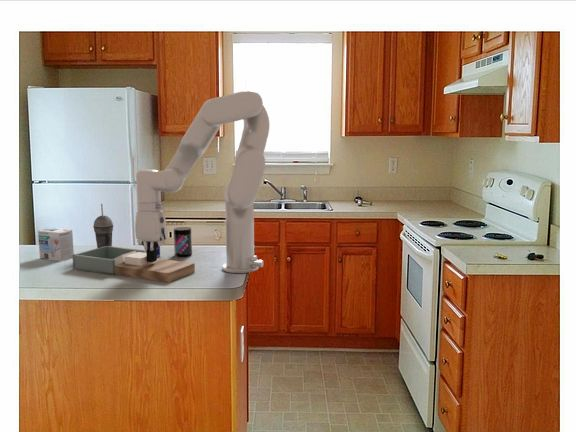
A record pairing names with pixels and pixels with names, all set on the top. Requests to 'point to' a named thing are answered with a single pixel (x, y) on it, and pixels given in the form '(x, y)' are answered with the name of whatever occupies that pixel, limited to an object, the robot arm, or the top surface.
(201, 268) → the top surface
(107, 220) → the beverage cup
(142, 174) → the robot arm
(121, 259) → the tile
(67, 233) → the light bulb box
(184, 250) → the supplement container
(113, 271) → the box
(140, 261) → the tile
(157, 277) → the wooden cutting board
